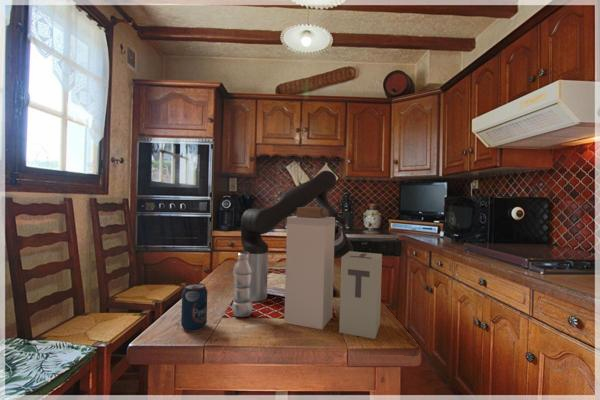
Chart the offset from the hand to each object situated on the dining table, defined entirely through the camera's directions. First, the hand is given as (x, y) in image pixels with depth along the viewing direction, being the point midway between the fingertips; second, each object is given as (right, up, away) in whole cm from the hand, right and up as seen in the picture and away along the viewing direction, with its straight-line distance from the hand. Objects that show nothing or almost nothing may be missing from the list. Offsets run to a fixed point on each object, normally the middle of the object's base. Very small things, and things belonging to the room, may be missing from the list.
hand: (322, 212), depth 111 cm
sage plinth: (+10, -33, -16) cm, 38 cm away
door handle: (-1, -33, +23) cm, 41 cm away
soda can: (-38, -32, -18) cm, 53 cm away
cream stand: (-5, -33, -10) cm, 35 cm away
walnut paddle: (-2, -1, -6) cm, 6 cm away
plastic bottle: (-26, -32, -8) cm, 42 cm away
